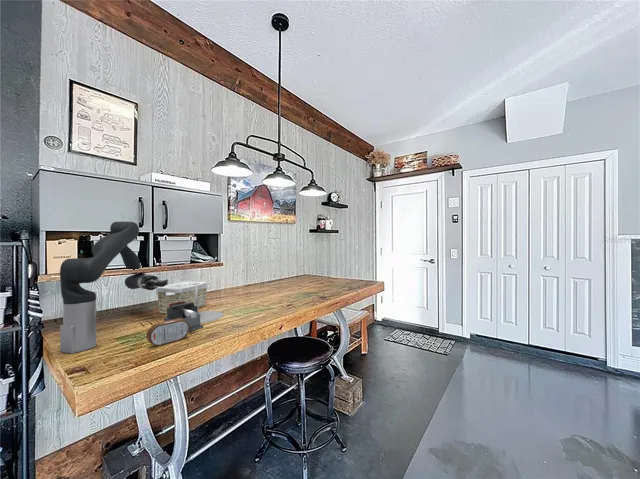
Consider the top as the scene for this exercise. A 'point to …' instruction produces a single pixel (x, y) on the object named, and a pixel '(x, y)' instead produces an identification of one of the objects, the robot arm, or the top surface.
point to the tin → (167, 332)
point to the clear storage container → (181, 294)
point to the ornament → (207, 312)
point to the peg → (185, 310)
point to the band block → (177, 313)
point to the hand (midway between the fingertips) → (163, 284)
